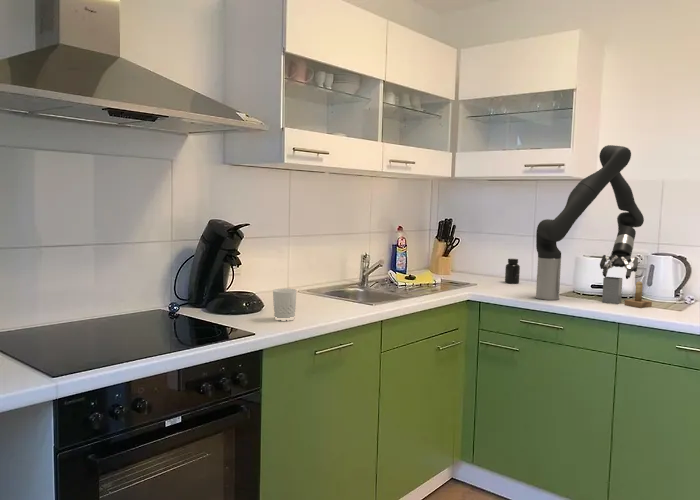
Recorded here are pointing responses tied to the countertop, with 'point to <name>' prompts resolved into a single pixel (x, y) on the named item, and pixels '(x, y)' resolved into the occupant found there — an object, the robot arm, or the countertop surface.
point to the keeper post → (638, 298)
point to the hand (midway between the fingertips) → (615, 276)
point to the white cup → (284, 303)
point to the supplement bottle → (512, 272)
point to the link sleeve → (612, 290)
